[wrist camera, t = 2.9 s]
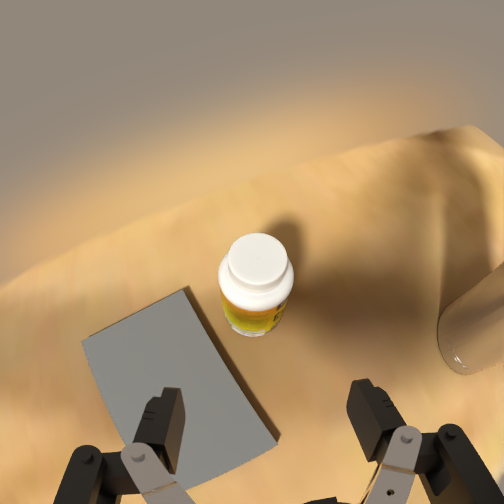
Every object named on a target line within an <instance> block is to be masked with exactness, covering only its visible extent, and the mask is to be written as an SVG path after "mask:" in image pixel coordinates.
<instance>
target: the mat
mask: <svg viewBox="0 0 504 504" xmlns="http://www.w3.org/2000/svg"><path fill="white" fill-rule="evenodd" d="M81 343H82V346H83V349H84V352H85V355H86V358H87V360H88V363H89V366H90V368H91V371H92V374H93V376H94V379H95V381H96V384H97V386H98V389H99V391H100V394H101V396H102V398H103V401H104V403H105V405H106V407H107V409H108V412H109V414H110V416H111V418H112V420H113V422H114V424H115V426H116V428H117V430H118V432H119V434H120V436H121V438H122V440H123V442H124V444H125V446H127V445H129V444H131V443H132V442H133V440H134V437H135V434H136V431H137V428H138V426H139V423H140V420H141V419H142V418H141V417H142V414H143V413H144V409H145V406H146V404H147V402H148V401H149V400H150V399H151V398H152V397H153V396H155V397H161V394H162V391H163V388H164V387H174V388H180V389H181V392H182V397H183V402H184V407H185V414H186V419H185V426H184V431H183V436H182V442H181V447H180V453H179V458H178V464H177V469H176V475H173V474H170V475H171V477H172V478H173V479H174V481H175V482H178V483H179V484H180V485H181V487H182V488H183V489H184V490H187V489H190V488H192V487H195V486H197V485H199V484H202V483H204V482H206V481H209V480H211V479H213V478H215V477H218V476H220V475H222V474H224V473H226V472H228V471H230V470H232V469H234V468H236V467H238V466H240V465H242V464H244V463H246V462H248V461H250V460H252V459H254V458H256V457H257V456H259V455H261V454H263V453H265V452H266V451H268V450H270V449H272V448H273V447H275V446H277V445H278V444H277V442H276V441H275V439H274V438H273V437H272V435H271V434H270V432H269V431H268V429H267V428H266V427H265V425H264V424H263V422H262V421H261V419H260V418H259V416H258V415H257V413H256V412H255V410H254V409H253V407H252V406H251V404H250V403H249V401H248V400H247V398H246V397H245V395H244V394H243V392H242V390H241V389H240V387H239V386H238V384H237V383H236V381H235V379H234V378H233V376H232V375H231V373H230V371H229V370H228V368H227V367H226V365H225V363H224V362H223V360H222V358H221V357H220V355H219V353H218V352H217V350H216V348H215V347H214V345H213V343H212V341H211V340H210V338H209V336H208V335H207V333H206V331H205V329H204V328H203V326H202V324H201V322H200V321H199V319H198V317H197V315H196V313H195V312H194V310H193V308H192V306H191V304H190V302H189V301H188V299H187V297H186V295H185V293H184V291H183V289H182V290H180V291H178V292H176V293H174V294H172V295H170V296H169V297H167V298H165V299H163V300H161V301H159V302H157V303H155V304H153V305H151V306H149V307H147V308H145V309H143V310H141V311H139V312H137V313H135V314H134V315H132V316H130V317H128V318H126V319H124V320H122V321H120V322H118V323H116V324H114V325H112V326H110V327H108V328H106V329H104V330H102V331H100V332H99V333H97V334H95V335H93V336H91V337H89V338H87V339H85V340H83V341H81Z"/></svg>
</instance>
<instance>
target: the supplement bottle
mask: <svg viewBox="0 0 504 504" xmlns="http://www.w3.org/2000/svg"><path fill="white" fill-rule="evenodd" d="M218 280H219V286H220V292H221V297H222V303H223V308H224V314H225V317H226V320H227V322H228V323H229V325H230V326H231V327H232V328H233V329H234V330H235V331H236V332H238V333H240V334H242V335H245V336H251V337H255V336H262V335H265V334H267V333H269V332H270V331H272V330H273V329H274V328H275V327H276V326H277V324H278V323H279V321H280V319H281V317H282V314H283V311H284V309H285V306H286V303H287V301H288V298H289V295H290V292H291V290H292V287H293V282H294V271H293V267H292V264H291V262H290V260H289V258H288V257H287V253H286V250H285V248H284V246H283V245H282V243H281V242H280V241H279V240H277V239H276V238H274V237H273V236H270V235H268V234H264V233H250V234H247V235H244V236H242V237H240V238H239V239H237V240H236V241H235V242H234V243H233V244H232V246H231V248H230V250H229V252H228V253H227V254H226V255H225V257H224V258H223V260H222V261H221V264H220V267H219V272H218Z"/></svg>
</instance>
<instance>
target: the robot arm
mask: <svg viewBox="0 0 504 504" xmlns="http://www.w3.org/2000/svg"><path fill="white" fill-rule="evenodd" d="M438 343H439V348H440V351H441V354H442V356H443V358H444V360H445V362H446V363H447V364H448V366H449V367H450V368H451V369H452V370H454V371H455V372H457V373H459V374H461V375H470V374H474V373H477V372H479V371H482V370H485V369H488V368H490V367H493V366H496V365H498V364H501V363H503V362H504V262H503V263H501V264H500V265H499V266H498V267H497V268H496V269H495V270H493V271H492V272H491V273H490V274H489V275H487V276H486V277H485V278H484V279H483V280H481V281H480V282H479V283H478V284H476V285H475V286H474V287H473V288H471V289H470V290H468V291H467V292H466V293H465V294H463V295H462V296H461V297H459V298H458V299H457V300H455V301H454V302H453V303H451V304H450V305H448V306H447V307H446V309H445V310H444V311H443V313H442V315H441V317H440V320H439V324H438ZM346 407H347V414H348V417H349V419H350V421H351V424H352V426H353V428H354V431H355V433H356V435H357V438H358V440H359V442H360V445H361V447H362V449H363V452H364V454H365V457H366V459H367V461H368V462H372V461H377V464H378V465H377V467H376V469H375V471H374V474H373V476H372V478H371V480H370V482H369V484H368V486H367V488H366V491H365V493H364V495H363V496H362V498H361V500H360V502H359V503H358V504H406V502H407V499H408V496H409V493H410V490H411V487H412V484H413V481H414V478H415V474H418V475H419V477H420V480H421V482H422V484H423V486H424V489H425V491H426V493H427V496H428V498H429V500H430V503H431V504H504V496H503V494H502V492H501V491H500V489H499V487H498V485H497V484H496V482H495V480H494V479H493V477H492V475H491V474H490V472H489V470H488V469H487V467H486V466H485V464H484V462H483V461H482V459H481V458H480V456H479V454H478V453H477V451H476V450H475V448H474V447H473V445H472V444H471V442H470V441H469V439H468V437H467V436H466V434H465V433H464V432H463V430H462V429H461V428H460V427H459V426H457V425H455V424H445V425H443V426H441V427H440V429H439V430H438V432H436V433H421V432H420V431H419V430H418V429H417V428H415V427H412V426H407V425H406V423H405V421H404V420H403V418H402V417H401V415H400V413H399V412H398V410H397V408H396V407H395V406H394V404H393V402H392V401H391V400H390V397H389V396H388V394H387V393H386V392H385V391H384V390H383V389H381V388H380V387H374V386H373V385H372V383H371V381H370V380H369V379H368V378H367V379H360V380H354V381H353V382H352V384H351V388H350V392H349V396H348V400H347V406H346ZM141 418H142V419H141V420H140V423H139V426H138V428H137V431H136V434H135V437H134V440H133V442H132V443H131V444H129V445H127V446H125V447H124V448H123V450H122V451H120V452H111V453H101V452H100V450H99V449H98V448H96V447H94V446H91V445H83V446H80V447H78V448H77V449H75V451H74V452H73V454H72V456H71V459H70V461H69V463H68V466H67V468H66V471H65V473H64V476H63V479H62V481H61V484H60V486H59V489H58V492H57V494H56V497H55V500H54V503H53V504H120V502H121V497H122V495H127V494H142V496H143V498H144V499H145V501H146V503H147V504H195V502H194V501H193V500H192V499H191V498H190V496H189V495H188V494H187V493H186V492H185V490H184V489H183V488H182V487H181V485H180V484H179V483H178V482H175V481H174V479H173V478H172V477H171V475H170V474H173V475H176V469H177V464H178V458H179V453H180V447H181V442H182V436H183V431H184V426H185V419H186V414H185V407H184V402H183V397H182V392H181V389H180V388H174V387H164V388H163V391H162V394H161V397H155V396H153V397H152V398H151V399H150V400H149V401H148V402H147V404H146V406H145V409H144V413H143V414H142V417H141ZM304 504H349V503H342V502H337V499H336V497H331V498H326V499H320V500H314V501H310V502H307V503H304Z"/></svg>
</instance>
